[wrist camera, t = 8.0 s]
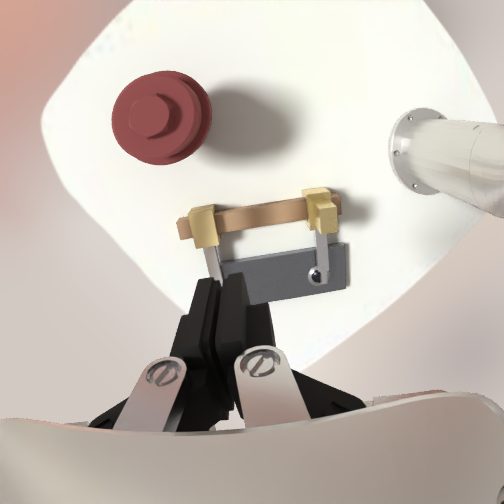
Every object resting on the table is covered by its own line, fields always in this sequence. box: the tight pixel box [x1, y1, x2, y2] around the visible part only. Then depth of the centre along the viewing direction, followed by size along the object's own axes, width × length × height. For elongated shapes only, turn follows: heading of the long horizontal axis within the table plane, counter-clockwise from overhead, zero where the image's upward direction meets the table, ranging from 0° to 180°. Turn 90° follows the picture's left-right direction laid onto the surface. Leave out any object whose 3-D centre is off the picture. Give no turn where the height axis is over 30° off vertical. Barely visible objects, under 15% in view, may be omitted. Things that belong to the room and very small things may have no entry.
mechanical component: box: [112, 71, 212, 165], centre depth 29 cm, size 12×10×10 cm
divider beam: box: [176, 193, 341, 286], centre depth 40 cm, size 21×13×3 cm, turn 99°
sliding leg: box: [302, 187, 338, 284], centre depth 38 cm, size 3×13×7 cm, turn 9°
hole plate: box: [219, 242, 346, 305], centre depth 43 cm, size 20×7×1 cm, turn 99°
